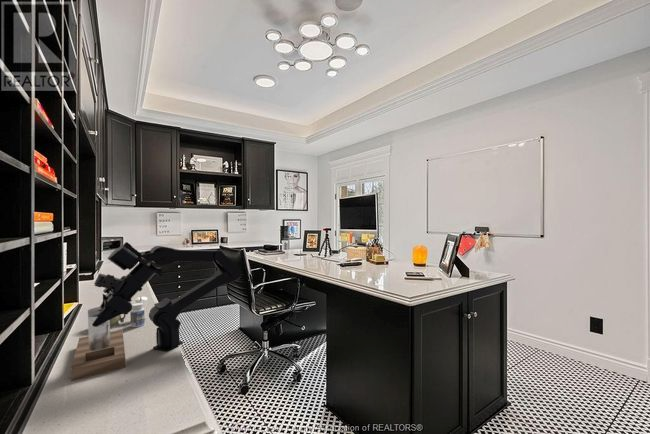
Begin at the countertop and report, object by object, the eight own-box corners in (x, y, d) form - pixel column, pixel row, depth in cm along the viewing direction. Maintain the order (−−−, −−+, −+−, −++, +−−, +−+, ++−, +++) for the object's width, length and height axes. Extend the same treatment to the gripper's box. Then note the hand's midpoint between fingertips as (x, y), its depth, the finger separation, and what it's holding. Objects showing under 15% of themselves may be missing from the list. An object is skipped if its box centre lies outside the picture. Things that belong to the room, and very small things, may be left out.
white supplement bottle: (135, 322, 126) (134, 297, 126) (136, 318, 131) (135, 294, 131) (147, 320, 129) (147, 295, 128) (148, 316, 133) (147, 293, 133)
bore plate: (125, 366, 89) (125, 356, 88) (71, 380, 82) (71, 369, 82) (122, 338, 110) (122, 329, 110) (79, 347, 103) (79, 338, 103)
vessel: (127, 320, 129) (126, 305, 129) (125, 326, 121) (124, 310, 121) (91, 325, 123) (90, 310, 123) (86, 333, 116) (86, 316, 116)
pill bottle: (138, 327, 120) (137, 306, 120) (127, 327, 121) (127, 305, 121) (147, 323, 124) (146, 302, 124) (137, 322, 125) (136, 302, 125)
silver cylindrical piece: (114, 344, 92) (113, 307, 92) (97, 351, 87) (95, 312, 87) (102, 342, 94) (101, 305, 93) (84, 349, 89) (83, 310, 89)
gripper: (110, 260, 100) (67, 300, 93) (116, 267, 85) (65, 316, 79) (139, 280, 105) (100, 320, 98) (150, 290, 90) (104, 338, 84)
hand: (93, 323), depth 89 cm, fingers closed on silver cylindrical piece, 5 cm apart
